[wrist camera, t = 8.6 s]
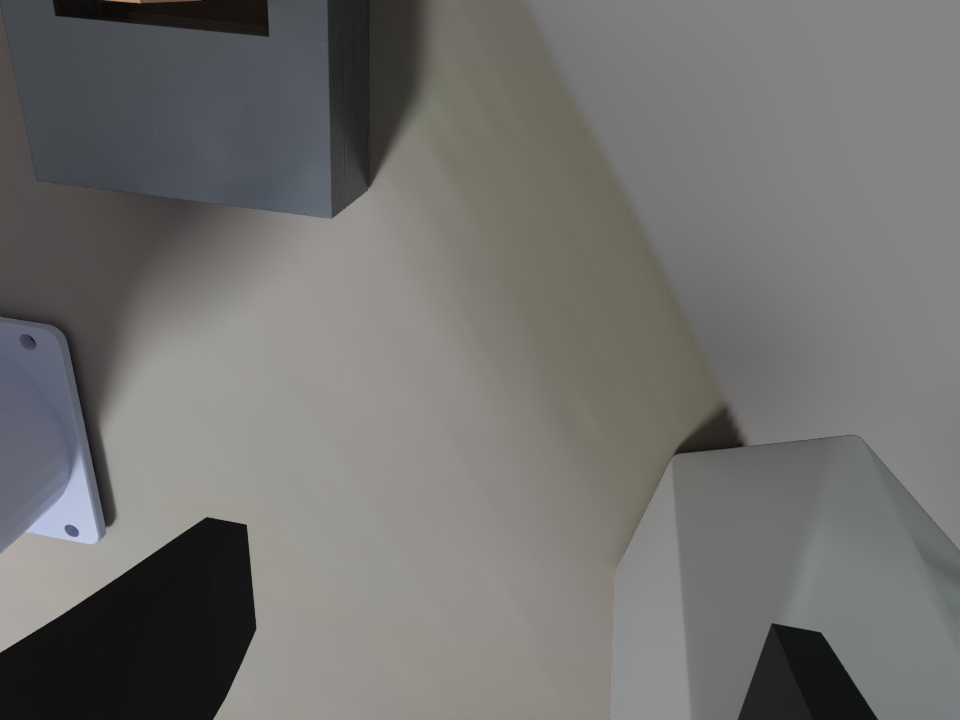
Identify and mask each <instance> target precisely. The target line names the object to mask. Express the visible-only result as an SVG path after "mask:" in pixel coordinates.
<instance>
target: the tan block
mask: <svg viewBox="0 0 960 720" xmlns="http://www.w3.org/2000/svg"><path fill="white" fill-rule="evenodd" d="M109 1H121V2H132V3H157V2H179V1H200V0H109Z"/></svg>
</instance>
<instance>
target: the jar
mask: <svg viewBox="0 0 960 720" xmlns="http://www.w3.org/2000/svg"><path fill="white" fill-rule="evenodd" d="M771 623H774V624H780V625H785V626H790V627H796V628H801V629H806V630H812V631H817V632H821V633H822V634H823V636H824V637H825V639H826V640H827V641H828V643H829V645H830V646H831V648H832V649H833V651H834V652H835V654H836V655H837V657H838V658H839V660H840V661H841V663H842V665H843V666H844V668H845V669H846V671H847V672H848V674H849V675H850V677H851V679H852V680H853V682H854V683H855V685H856V686H857V688H858V689H859V691H860V693H861V694H862V696H863V697H864V699H865V700H866V702H867V703H868V705H869V706H870V708H871V709H872V711H873V712H874V714H875V715H876V717H877V718H878V720H960V551H959V550H958V548H957V547H956V546H955V545H954V543H952V541H951V540H950V539H949V538H948V537H947V535H946V534H945V533H944V532H943V531H942V530H941V529H940V527H939V526H938V525H937V524H936V523H935V522H934V521H933V519H932V518H931V517H930V516H929V515H928V514H927V513H926V511H925V510H924V509H923V508H922V507H921V506H920V504H918V502H917V501H916V500H915V499H914V498H913V497H912V495H911V494H910V493H909V492H908V491H907V490H906V488H905V487H904V486H903V485H902V484H901V483H900V482H899V481H898V479H897V478H896V477H895V476H894V475H893V474H892V472H891V471H890V470H889V469H888V468H887V467H886V466H885V464H884V463H883V462H882V461H881V460H880V459H879V457H878V456H877V455H876V454H875V453H874V452H873V451H872V449H871V448H870V447H869V446H868V445H867V444H866V443H865V441H864V440H863V439H862V438H860V437H858V436H855V435H845V436H837V437H828V438H819V439H811V440H802V441H793V442H784V443H774V444H766V445H756V446H747V447H737V448H728V449H719V450H709V451H700V452H690V453H680V454H677V455H675V456H673V457H672V458H671V460H670V462H669V464H668V466H667V468H666V470H665V472H664V474H663V476H662V478H661V480H660V482H659V484H658V486H657V488H656V490H655V492H654V494H653V496H652V498H651V500H650V502H649V504H648V506H647V508H646V510H645V512H644V515H643V517H642V519H641V521H640V523H639V525H638V527H637V529H636V531H635V533H634V535H633V537H632V539H631V541H630V543H629V545H628V547H627V549H626V551H625V553H624V555H623V557H622V559H621V561H620V563H619V565H618V567H617V569H616V572H615V586H614V617H613V647H612V678H611V708H610V720H738V717H739V714H740V711H741V708H742V705H743V703H744V700H745V697H746V694H747V691H748V688H749V686H750V683H751V680H752V677H753V674H754V672H755V669H756V666H757V663H758V660H759V657H760V655H761V652H762V649H763V646H764V643H765V640H766V638H767V635H768V632H769V629H770V626H771Z"/></svg>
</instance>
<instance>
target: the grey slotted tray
mask: <svg viewBox="0 0 960 720" xmlns="http://www.w3.org/2000/svg"><path fill="white" fill-rule="evenodd" d="M267 2H268V21H269V25H264V24H254V23H243V22H233V21H222V20H212V19H201V18H191V17H181V16H170V15H160V14H149V13H139V12H129V11H128V4H127V2H121V1H109V0H0V3H1V8H2V13H3V18H4V23H5V27H6V32H7V37H8V42H9V47H10V52H11V57H12V62H13V67H14V71H15V76H16V81H17V86H18V91H19V96H20V101H21V106H22V111H23V115H24V120H25V125H26V130H27V135H28V140H29V145H30V150H31V155H32V159H33V164H34V169H35V174H36V179H37V181H44V182H52V183H59V184H67V185H75V186H82V187H90V188H98V189H106V190H113V191H121V192H129V193H136V194H144V195H152V196H160V197H167V198H175V199H183V200H191V201H198V202H206V203H214V204H221V205H229V206H237V207H245V208H252V209H260V210H268V211H275V212H283V213H291V214H299V215H306V216H314V217H322V218H330V219H332V218H333V217H335V216H336V215H337V214H338V213H340V212H341V211H342V210H343V209H345V208H346V207H347V206H349V205H350V204H351V203H352V202H354V201H355V200H356V199H357V198H359V197H360V196H361V195H363V194H364V193H365V192H366V191H368V67H369V0H267Z"/></svg>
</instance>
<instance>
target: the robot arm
mask: <svg viewBox="0 0 960 720" xmlns="http://www.w3.org/2000/svg"><path fill="white" fill-rule="evenodd" d="M30 336H31V337H32V338H33V339H34V340H35V342H36V343H34V342H33V341H32V340H31V338H30ZM24 532H30V533H35V534H40V535H45V536H50V537H55V538H60V539H65V540H70V541H75V542H80V543H86V544H96V543H98V542H99V541H100V540H101V539H102V538H103V537H104V536H105V534H106V527H105V522H104V517H103V513H102V508H101V503H100V498H99V493H98V488H97V483H96V479H95V474H94V469H93V464H92V459H91V454H90V449H89V445H88V440H87V435H86V430H85V425H84V420H83V416H82V411H81V406H80V401H79V396H78V391H77V386H76V382H75V377H74V372H73V367H72V362H71V357H70V353H69V348H68V343H67V340H66V338H65V336H64V334H63V333H62V332H61V331H60V330H59V329H57V328H56V327H55V326H52V325H49V324H43V323H37V322H30V321H24V320H17V319H11V318H5V317H0V554H1V553H2V552H3V551H4V550H6V549H7V548H8V547H9V546H10V545H11V544H12V543H13V542H14V541H15V540H17V539H18V538H19V537H20V536H21V535H22V534H23V533H24ZM255 631H256V619H255V608H254V597H253V587H252V576H251V565H250V555H249V544H248V533H247V525H246V524H240V523H235V522H230V521H224V520H219V519H214V518H208V517H206V518H205V519H203V520H202V521H200V522H199V523H197V524H196V525H194V526H193V527H191V528H190V529H188V530H187V531H185V532H184V533H182V534H181V535H179V536H178V537H176V538H175V539H173V540H172V541H171V542H169V543H168V544H166V545H165V546H163V547H162V548H160V549H159V550H158V551H156V552H155V553H153V554H152V555H150V556H149V557H147V558H146V559H144V560H143V561H142V562H140V563H139V564H137V565H136V566H134V567H133V568H131V569H130V570H128V571H127V572H125V573H124V574H122V575H121V576H120V577H118V578H117V579H115V580H114V581H112V582H111V583H109V584H108V585H106V586H105V587H103V588H102V589H100V590H99V591H97V592H96V593H94V594H93V595H91V596H90V597H88V598H87V599H85V600H84V601H82V602H81V603H79V604H78V605H76V606H75V607H73V608H72V609H70V610H69V611H67V612H66V613H64V614H62V615H61V616H59V617H58V618H56V619H54V620H53V621H51V622H50V623H48V624H46V625H45V626H43V627H41V628H40V629H38V630H37V631H35V632H33V633H32V634H30V635H28V636H27V637H25V638H24V639H22V640H20V641H19V642H17V643H15V644H14V645H12V646H11V647H9V648H7V649H6V650H4V651H2V652H1V653H0V720H213V719H214V717H215V715H216V714H217V712H218V710H219V708H220V707H221V705H222V703H223V701H224V700H225V698H226V696H227V694H228V692H229V689H230V687H231V685H232V683H233V681H234V679H235V677H236V674H237V672H238V670H239V668H240V666H241V663H242V661H243V659H244V656H245V654H246V652H247V649H248V647H249V645H250V643H251V640H252V638H253V636H254V633H255ZM738 720H878V718H877V717H876V715H875V714H874V712H873V711H872V709H871V708H870V706H869V705H868V703H867V702H866V700H865V699H864V697H863V696H862V694H861V693H860V691H859V689H858V688H857V686H856V685H855V683H854V682H853V680H852V679H851V677H850V675H849V674H848V672H847V671H846V669H845V668H844V666H843V665H842V663H841V661H840V660H839V658H838V657H837V655H836V654H835V652H834V651H833V649H832V648H831V646H830V645H829V643H828V641H827V640H826V639H825V637H824V636H823V634H822V633H821V632H817V631H812V630H806V629H801V628H796V627H790V626H785V625H780V624H774V623H771V626H770V629H769V632H768V635H767V638H766V640H765V643H764V646H763V649H762V652H761V655H760V657H759V660H758V663H757V666H756V669H755V672H754V674H753V677H752V680H751V683H750V686H749V688H748V691H747V694H746V697H745V700H744V703H743V705H742V708H741V711H740V714H739V717H738Z"/></svg>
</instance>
